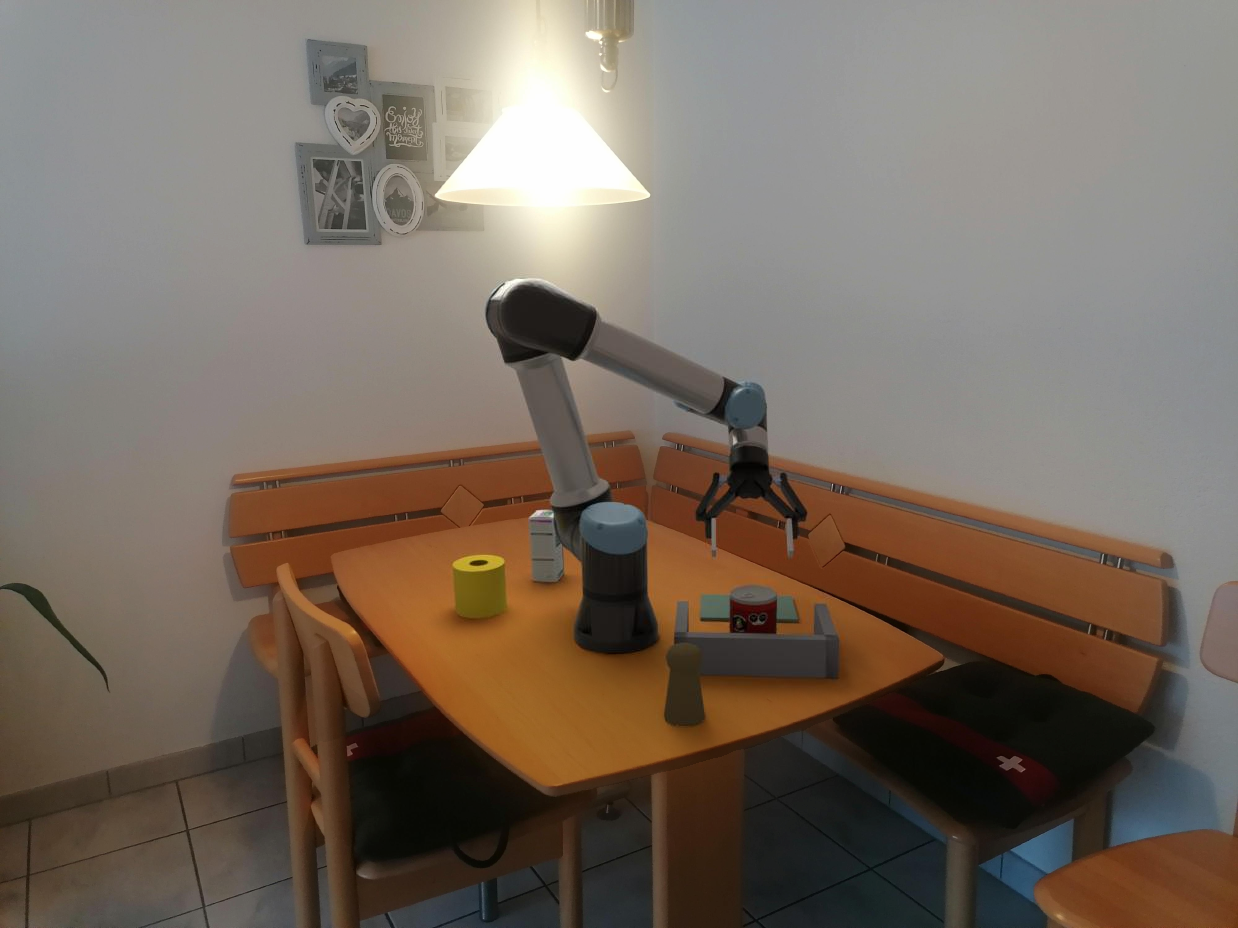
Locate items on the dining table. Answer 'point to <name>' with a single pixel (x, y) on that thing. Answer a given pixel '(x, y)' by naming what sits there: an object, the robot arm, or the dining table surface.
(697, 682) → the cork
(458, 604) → the tape roll
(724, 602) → the green mat
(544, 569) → the syrup box
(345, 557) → the dining table surface
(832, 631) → the open box
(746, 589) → the canned food
